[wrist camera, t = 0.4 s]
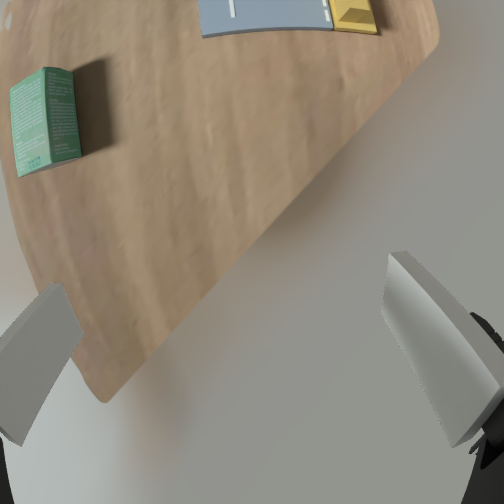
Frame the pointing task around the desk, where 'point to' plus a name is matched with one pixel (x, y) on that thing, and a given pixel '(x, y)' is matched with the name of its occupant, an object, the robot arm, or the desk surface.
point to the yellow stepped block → (352, 16)
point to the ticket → (262, 16)
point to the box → (44, 121)
